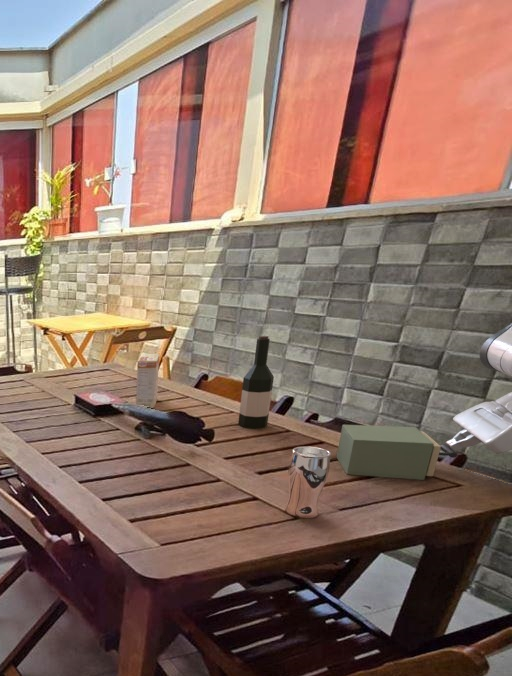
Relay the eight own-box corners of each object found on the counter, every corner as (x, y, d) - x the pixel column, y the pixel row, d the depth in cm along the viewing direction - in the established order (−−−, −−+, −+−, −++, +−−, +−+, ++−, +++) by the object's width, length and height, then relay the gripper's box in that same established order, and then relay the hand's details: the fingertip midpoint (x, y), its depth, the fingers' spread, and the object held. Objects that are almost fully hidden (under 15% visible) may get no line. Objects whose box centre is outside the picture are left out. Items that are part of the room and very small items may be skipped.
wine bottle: (240, 428, 165) (250, 339, 155) (236, 421, 172) (245, 335, 162) (269, 429, 162) (282, 337, 152) (264, 421, 169) (276, 333, 159)
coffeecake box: (139, 398, 211) (141, 353, 205) (157, 399, 208) (160, 353, 201) (134, 408, 199) (136, 360, 193) (154, 408, 196) (156, 360, 189)
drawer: (438, 460, 126) (446, 432, 124) (456, 478, 117) (465, 447, 114) (349, 455, 135) (355, 428, 132) (360, 471, 126) (366, 442, 123)
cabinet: (407, 461, 130) (415, 427, 126) (424, 480, 120) (434, 443, 116) (336, 457, 137) (342, 424, 134) (346, 474, 127) (353, 439, 124)
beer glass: (311, 505, 114) (322, 445, 109) (326, 519, 108) (338, 457, 103) (277, 504, 116) (286, 446, 111) (289, 518, 110) (299, 457, 105)
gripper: (488, 389, 121) (424, 425, 129) (533, 413, 104) (456, 452, 113) (509, 407, 120) (443, 441, 128) (558, 434, 104) (478, 472, 112)
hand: (449, 447), depth 120 cm, fingers closed, pressing on drawer
